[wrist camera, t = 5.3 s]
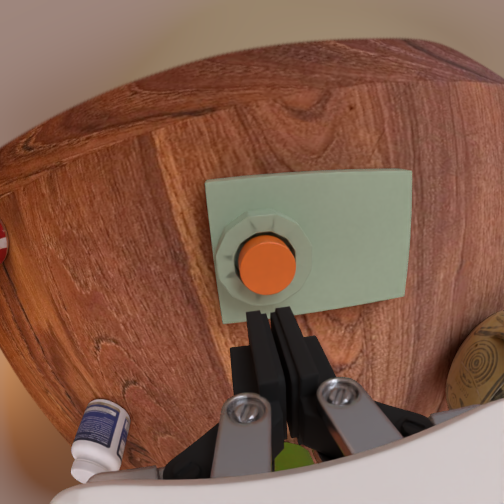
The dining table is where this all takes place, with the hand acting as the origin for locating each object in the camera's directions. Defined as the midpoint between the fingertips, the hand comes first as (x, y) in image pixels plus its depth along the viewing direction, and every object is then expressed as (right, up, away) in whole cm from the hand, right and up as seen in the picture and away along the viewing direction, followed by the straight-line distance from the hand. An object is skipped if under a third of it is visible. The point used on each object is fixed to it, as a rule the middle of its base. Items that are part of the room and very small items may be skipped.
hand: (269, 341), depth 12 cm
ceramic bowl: (+29, -9, +21) cm, 37 cm away
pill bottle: (-17, -15, +18) cm, 29 cm away
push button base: (+4, +4, +13) cm, 15 cm away
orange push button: (0, +3, +10) cm, 10 cm away
